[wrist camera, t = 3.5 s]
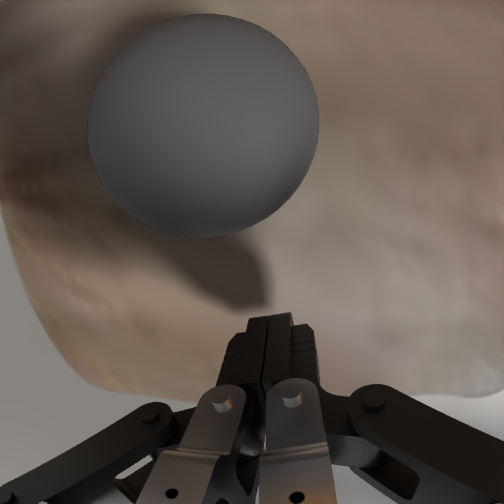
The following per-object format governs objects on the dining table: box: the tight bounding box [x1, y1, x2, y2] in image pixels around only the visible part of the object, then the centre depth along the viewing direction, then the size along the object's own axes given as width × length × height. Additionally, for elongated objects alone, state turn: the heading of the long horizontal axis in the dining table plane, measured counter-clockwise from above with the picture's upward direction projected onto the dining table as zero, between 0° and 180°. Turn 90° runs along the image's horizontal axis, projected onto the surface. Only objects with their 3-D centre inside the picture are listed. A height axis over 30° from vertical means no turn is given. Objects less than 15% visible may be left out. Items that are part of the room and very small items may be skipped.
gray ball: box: [87, 14, 319, 238], centre depth 8 cm, size 6×6×6 cm
